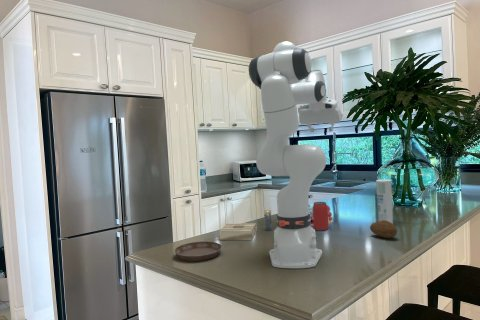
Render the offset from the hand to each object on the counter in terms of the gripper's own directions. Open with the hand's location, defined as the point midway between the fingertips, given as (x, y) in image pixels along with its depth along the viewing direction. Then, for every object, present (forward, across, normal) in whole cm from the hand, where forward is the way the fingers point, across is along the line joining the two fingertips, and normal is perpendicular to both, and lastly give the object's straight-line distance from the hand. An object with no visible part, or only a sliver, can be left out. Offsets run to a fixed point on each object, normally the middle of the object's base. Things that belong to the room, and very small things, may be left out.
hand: (321, 131), depth 175 cm
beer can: (+36, +4, -30) cm, 47 cm away
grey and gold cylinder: (+34, -18, -38) cm, 54 cm away
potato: (+33, +32, -36) cm, 58 cm away
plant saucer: (+20, -27, -78) cm, 85 cm away
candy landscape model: (+42, -8, -18) cm, 46 cm away
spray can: (+41, +29, -14) cm, 52 cm away
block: (+29, -26, -51) cm, 64 cm away
